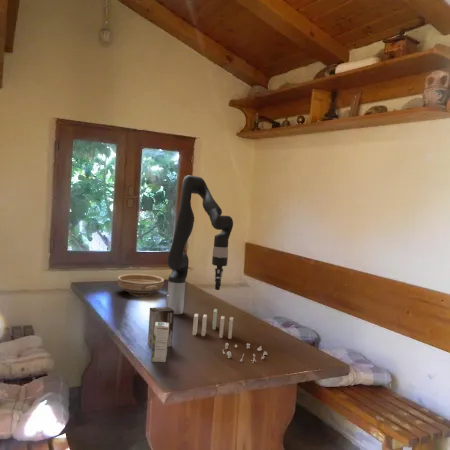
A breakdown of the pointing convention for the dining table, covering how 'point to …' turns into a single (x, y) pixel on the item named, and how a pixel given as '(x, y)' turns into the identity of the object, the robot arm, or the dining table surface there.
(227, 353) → the game piece set
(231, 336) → the domino
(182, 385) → the dining table surface
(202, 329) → the domino
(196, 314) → the domino
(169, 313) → the coffee box
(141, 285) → the ceramic bowl
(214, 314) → the domino
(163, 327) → the syrup box
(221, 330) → the domino
